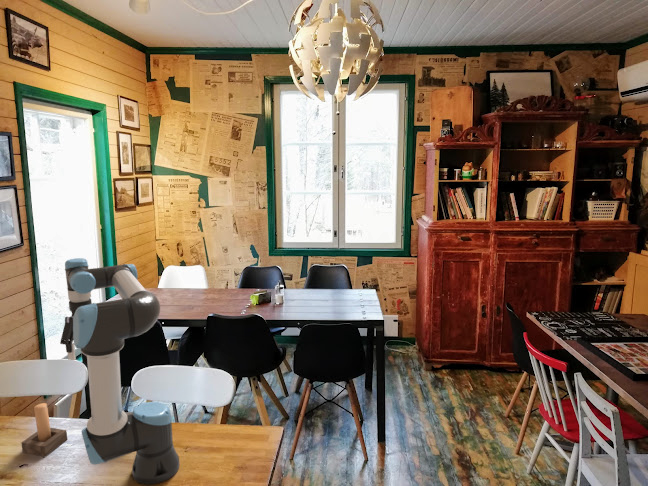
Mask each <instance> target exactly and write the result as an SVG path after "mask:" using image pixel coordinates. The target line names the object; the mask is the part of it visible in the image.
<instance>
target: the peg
mask: <svg viewBox="0 0 648 486" xmlns="http://www.w3.org/2000/svg"><path fill="white" fill-rule="evenodd" d="M33 409H34V410H33V411H34V416H35V425H36V432H38V439H39V441H40V442H46V441H47V440H48V439H50V438H51V431H50V428H51V424H50V417H49V410H48V404H47V403H46V402H45V403H38V404H37V405H35V406H34V407H33Z"/></svg>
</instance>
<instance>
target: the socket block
mask: <svg viewBox="0 0 648 486" xmlns="http://www.w3.org/2000/svg"><path fill="white" fill-rule="evenodd" d="M50 431H51V438H50V439H48V440H47V441H46V442H40V441H39V439H38V432H37V431H36V432H35V433H33V434H31V435H30V436H29V437H27V438H26V439H24V440H23V441H21V442H20V443H21V448H22V449H21V451H22V453H23V454H29V455H35V456H41V457H45V458H46V457H47V456H49V455H50V454H51V453H52V452H54V451H55V450H56V449H58V448H59V447H60V446H61V445H63V444H64V443H66V442H67V441H68V433H67V432H68V431H67V430H66V429H61V428H54V427H50Z"/></svg>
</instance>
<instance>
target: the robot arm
mask: <svg viewBox="0 0 648 486" xmlns="http://www.w3.org/2000/svg"><path fill="white" fill-rule="evenodd" d="M64 271H65V278H66V279H65V280H66V289H67V297H68V301H69V302H68V307H69V311H70V312H71V316H65V318H64V326H63V330H62V334H61V338H60V341H59V343H60V345H65V351H66V353H67V360H69V361H76V360H77V357H76V349H79V350H80V352H81V353H82V354H83V355H84V356H85V357H86V359H87V361H86V362H87V373H88V385H89V389H88V390H89V398H90V399H89V400H90V409H91V410H90V411H91V417H89V419H88V420H87V422H86V426H85V427H84V428H82V429H81V435H82V440H83V443H84V446H85V451H86V454H87V457H88V461H89V463H90V464H91V465H92V466H93V465H94V466H95V465H101V464H103V463H105V464H106V463H108V462H109V461H112V460H115V459H117V458H120V457H124V456H126V455H129V454H132V453H135V457H134V460H133V463H132V470H131V471H132V472H131V473H132V478H133V480H134V481H135V482H136V483H138V484H141V485H146V486H147V485H150V486H151V485H156V484H160V483H163V482H165V481H168V480H169V479H171V478H172V477H174V476H175V475H176V473H177V472H178V470H179V469H180V465H181V464H180V457H179V454H178V453H177V451H176V449H175V447H174V441H173V439H174V438H173V427H172V421H173V418H172V413H171V409H170V407H169V406H168V405H167V404H165V403H162V402H159V401H147V402H143V403H140V404H138V405H136V406H135V407H134V408H133V411H132V412H133V414H131V415H127V414H126V413H127V412H125V411H124V410H123V406H122V405H123V403H122V402H123V401H122V384H121V383H122V382H121V363H120V351H121V350H122V349H123V348H124V346H125V339H130V338H134V337H138V336H140V335H144V333H147V332H148V331H149V330H150V329H151V328H153V327H154V325H155V324H156V322H157V321H158V319H159V317H160V313H161V305H160V301H159V299H158V298H157V296H156V295H155V294H154V293H153V292H151V291H149V290H146V289H145V287H144V286H143V285H142V283H140V281H139V280H138V270H137V267H136V265H135V264H133V263H129V264H128V263H127V264H126V263H123V264H119V265H117V264H116V265H111V266H103V267H96V268H95V267H94V268H89V264H88V260H87V259H86V258H83V257H79V258H78V257H77V258H70V259H67V260H66V261H65V262H64ZM105 288H114V289H115V291H116V292H117V293H118V294H119V297H120V298H121V299H114V300H109V301H101V302H97V303H96V302H92V299H91V297H92V293H91V292H92V291H93V290H100V289H105Z"/></svg>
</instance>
